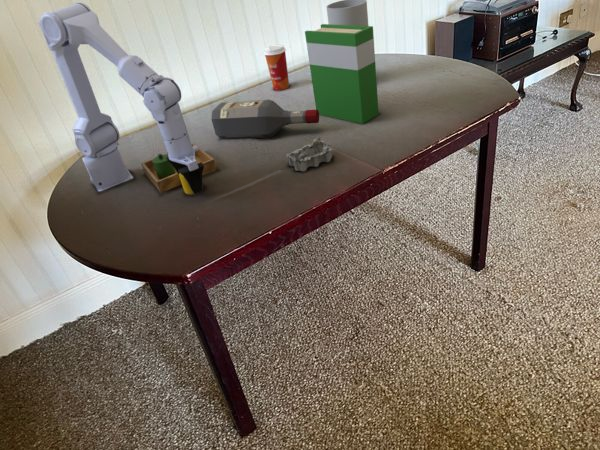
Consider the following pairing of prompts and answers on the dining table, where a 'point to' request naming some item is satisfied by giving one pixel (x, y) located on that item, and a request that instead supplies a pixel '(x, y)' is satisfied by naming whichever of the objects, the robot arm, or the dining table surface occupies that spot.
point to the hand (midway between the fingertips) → (192, 186)
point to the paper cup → (277, 66)
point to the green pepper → (163, 166)
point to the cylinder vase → (348, 13)
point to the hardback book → (343, 71)
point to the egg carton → (310, 155)
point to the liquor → (256, 118)
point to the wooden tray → (175, 179)
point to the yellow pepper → (185, 185)
